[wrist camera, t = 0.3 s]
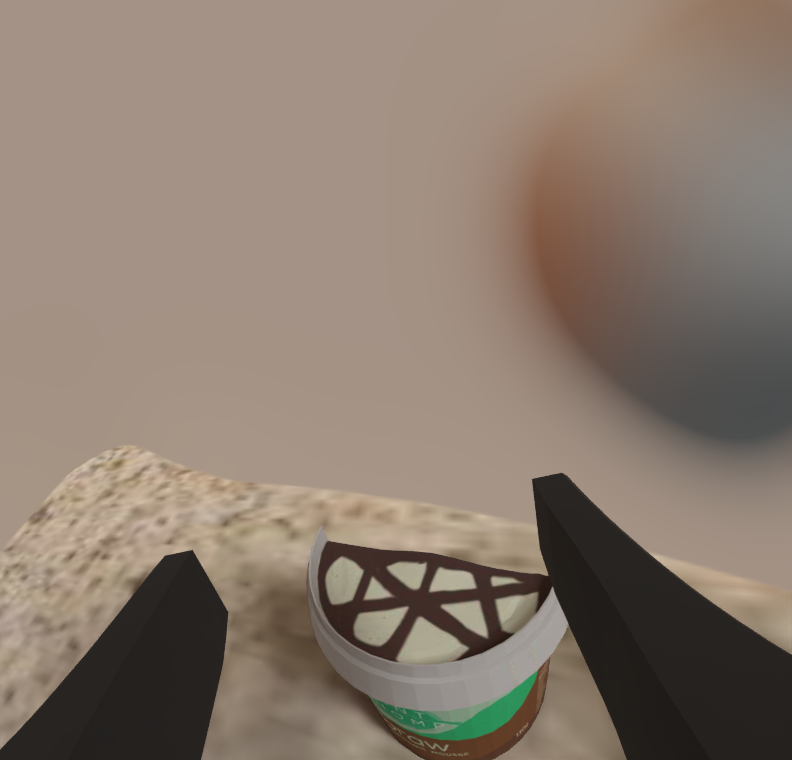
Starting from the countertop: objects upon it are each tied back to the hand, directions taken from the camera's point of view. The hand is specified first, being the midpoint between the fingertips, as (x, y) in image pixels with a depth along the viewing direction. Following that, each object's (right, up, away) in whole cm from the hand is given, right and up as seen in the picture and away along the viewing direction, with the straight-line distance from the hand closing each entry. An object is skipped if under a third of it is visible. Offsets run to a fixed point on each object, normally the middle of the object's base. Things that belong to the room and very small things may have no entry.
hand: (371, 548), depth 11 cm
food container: (+3, -14, +16) cm, 21 cm away
